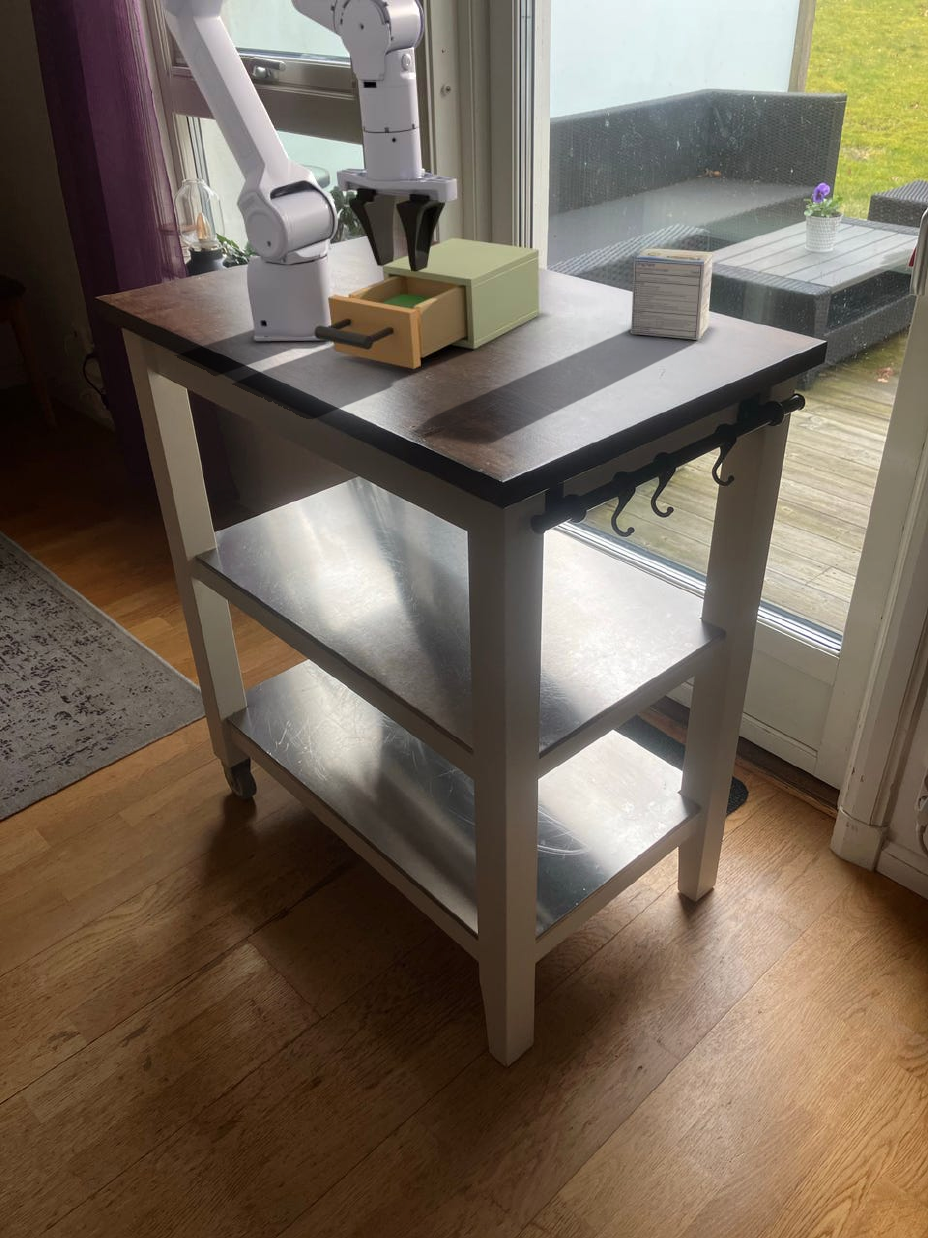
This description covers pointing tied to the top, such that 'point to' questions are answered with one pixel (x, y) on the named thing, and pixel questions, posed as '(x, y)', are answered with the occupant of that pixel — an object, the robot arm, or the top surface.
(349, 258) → the top surface
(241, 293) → the top surface
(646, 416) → the top surface
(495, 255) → the cabinet
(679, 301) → the medicine box
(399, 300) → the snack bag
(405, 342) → the drawer
